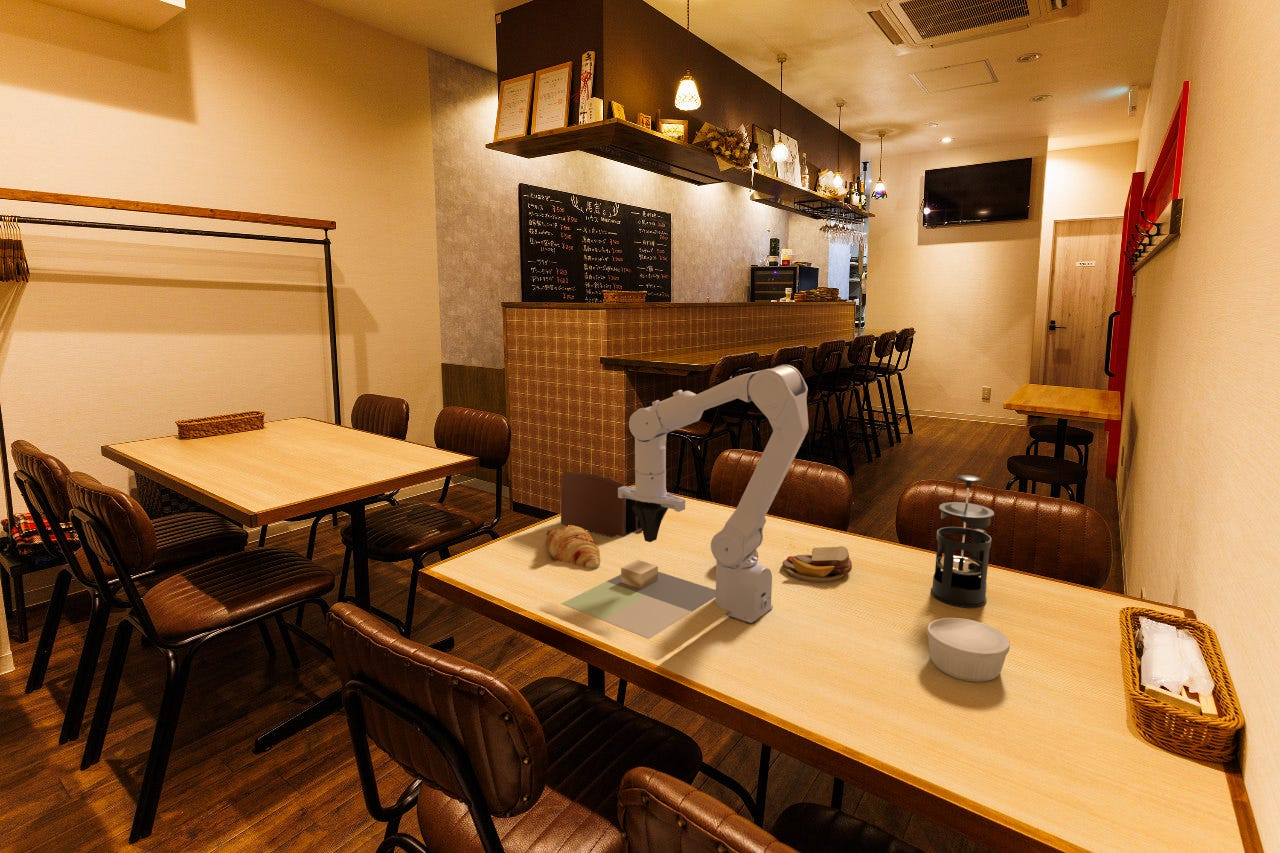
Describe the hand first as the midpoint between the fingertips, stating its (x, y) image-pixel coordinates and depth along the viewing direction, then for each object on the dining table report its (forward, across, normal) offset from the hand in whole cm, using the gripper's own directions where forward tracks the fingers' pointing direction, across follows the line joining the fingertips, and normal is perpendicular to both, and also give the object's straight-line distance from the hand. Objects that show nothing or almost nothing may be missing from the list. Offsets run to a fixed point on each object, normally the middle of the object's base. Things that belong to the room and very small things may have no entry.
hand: (650, 540), depth 128 cm
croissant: (+10, +22, -1) cm, 24 cm away
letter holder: (+10, +30, -20) cm, 37 cm away
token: (+8, +2, +1) cm, 9 cm away
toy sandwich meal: (+10, -22, -27) cm, 36 cm away
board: (+9, -3, +6) cm, 12 cm away
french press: (+10, -48, -32) cm, 58 cm away
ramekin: (+10, -54, -7) cm, 56 cm away
